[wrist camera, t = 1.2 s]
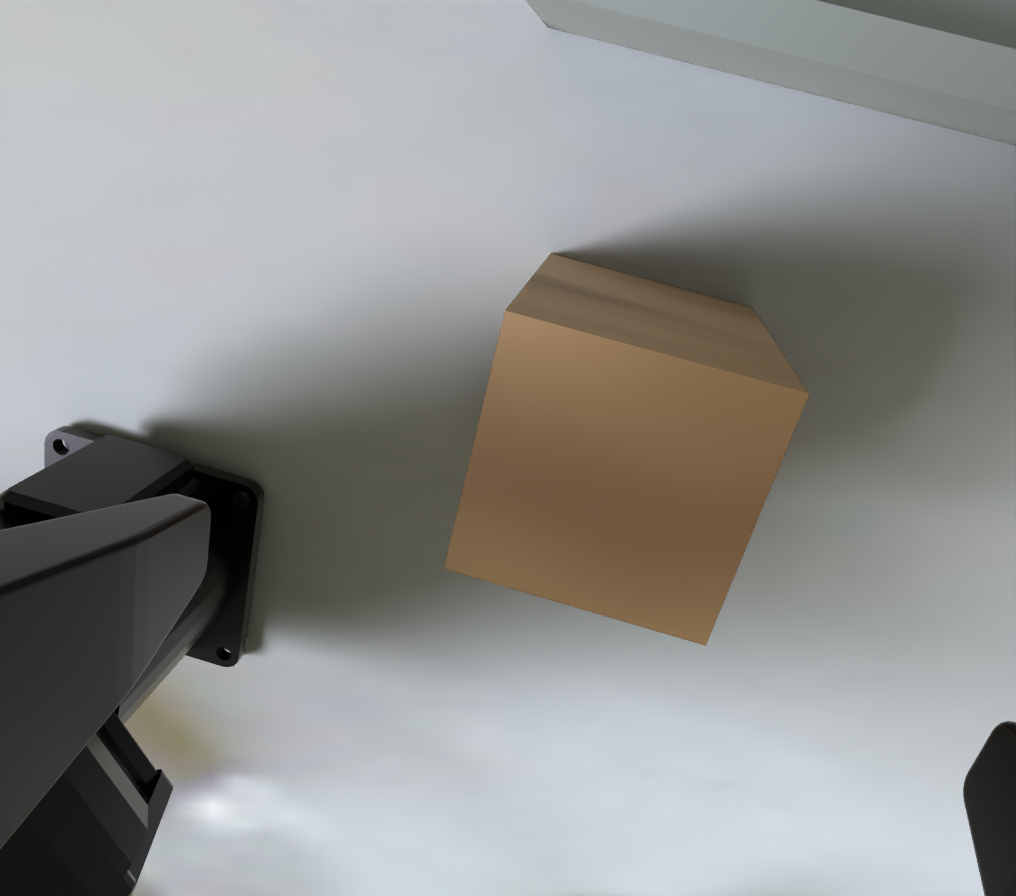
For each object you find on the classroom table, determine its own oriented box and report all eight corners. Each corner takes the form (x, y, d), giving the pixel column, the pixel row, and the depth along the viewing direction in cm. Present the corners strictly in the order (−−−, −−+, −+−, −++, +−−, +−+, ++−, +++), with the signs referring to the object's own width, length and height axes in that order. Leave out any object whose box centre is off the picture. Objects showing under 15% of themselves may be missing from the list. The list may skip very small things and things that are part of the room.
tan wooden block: (685, 488, 21) (705, 645, 14) (504, 437, 21) (444, 568, 15) (752, 306, 19) (809, 393, 12) (550, 253, 19) (504, 310, 13)
